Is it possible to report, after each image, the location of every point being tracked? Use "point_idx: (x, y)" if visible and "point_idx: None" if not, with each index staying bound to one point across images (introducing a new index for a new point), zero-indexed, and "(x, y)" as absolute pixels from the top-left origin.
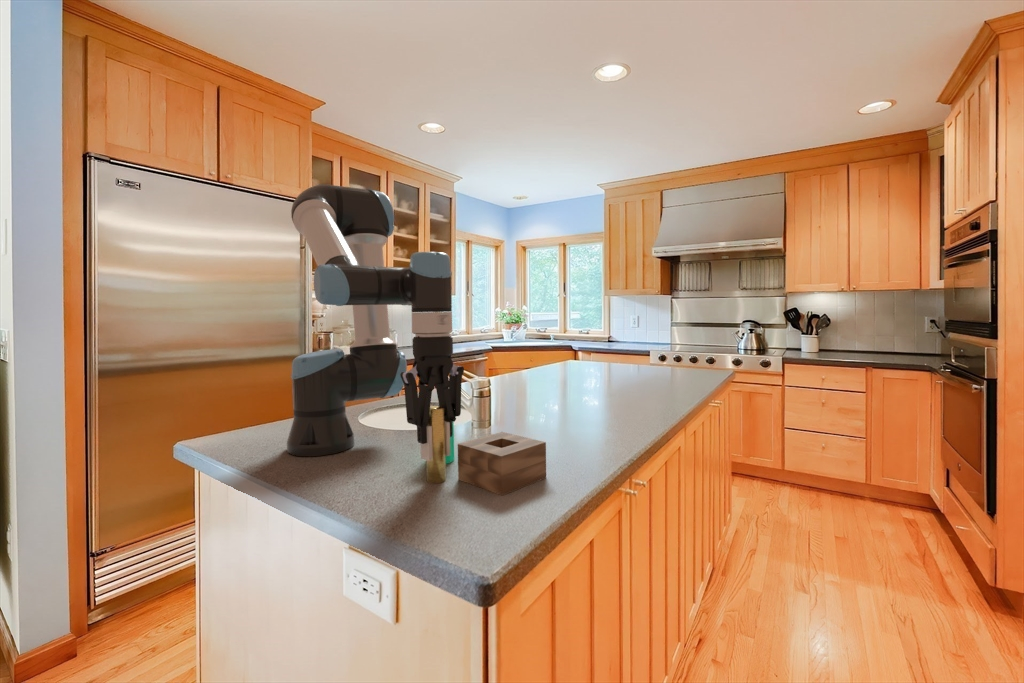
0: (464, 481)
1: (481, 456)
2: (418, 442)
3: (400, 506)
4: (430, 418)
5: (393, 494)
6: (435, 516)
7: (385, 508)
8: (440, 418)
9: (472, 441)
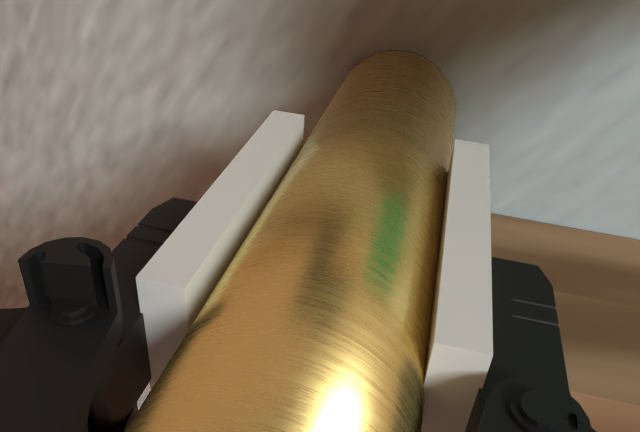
0: None
1: None
2: (172, 201)
3: (79, 198)
4: None
5: (110, 68)
6: None
7: (24, 162)
8: None
9: (595, 425)
